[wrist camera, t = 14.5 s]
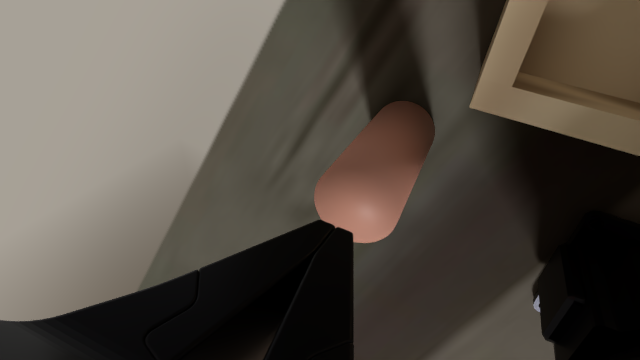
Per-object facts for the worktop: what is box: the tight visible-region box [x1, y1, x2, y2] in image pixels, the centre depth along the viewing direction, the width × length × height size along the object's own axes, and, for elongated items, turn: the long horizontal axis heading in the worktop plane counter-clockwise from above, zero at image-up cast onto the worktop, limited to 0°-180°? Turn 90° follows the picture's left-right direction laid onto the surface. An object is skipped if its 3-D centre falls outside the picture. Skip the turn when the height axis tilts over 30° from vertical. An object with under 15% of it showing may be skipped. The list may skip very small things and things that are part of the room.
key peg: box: [314, 101, 435, 243], centre depth 18 cm, size 3×3×8 cm
